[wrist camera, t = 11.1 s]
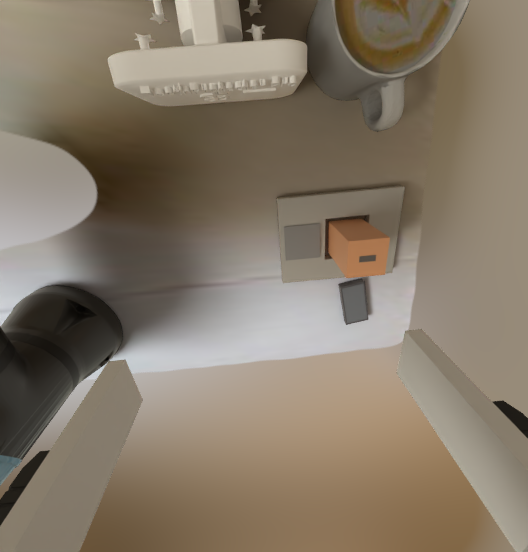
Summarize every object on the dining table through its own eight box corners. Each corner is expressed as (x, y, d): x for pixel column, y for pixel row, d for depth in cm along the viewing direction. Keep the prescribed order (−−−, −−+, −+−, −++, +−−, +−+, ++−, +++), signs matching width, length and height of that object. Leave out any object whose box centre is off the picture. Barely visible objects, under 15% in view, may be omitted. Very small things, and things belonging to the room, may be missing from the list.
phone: (344, 320, 42) (346, 324, 41) (338, 284, 39) (340, 287, 38) (366, 315, 42) (368, 319, 41) (361, 278, 39) (364, 281, 38)
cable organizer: (289, -31, 24) (314, -170, 14) (291, 103, 29) (311, 77, 18) (130, -19, 24) (34, -147, 14) (158, 113, 29) (103, 93, 18)
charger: (327, 251, 37) (346, 278, 29) (328, 221, 35) (348, 241, 27) (358, 248, 37) (385, 274, 29) (360, 218, 35) (390, 237, 27)
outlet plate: (282, 279, 38) (282, 283, 37) (276, 197, 33) (277, 199, 32) (388, 269, 38) (392, 273, 37) (400, 185, 33) (405, 186, 32)
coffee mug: (304, -19, 24) (332, -117, 15) (409, -31, 24) (499, -137, 15) (306, 139, 30) (328, 135, 21) (390, 130, 30) (447, 123, 21)
